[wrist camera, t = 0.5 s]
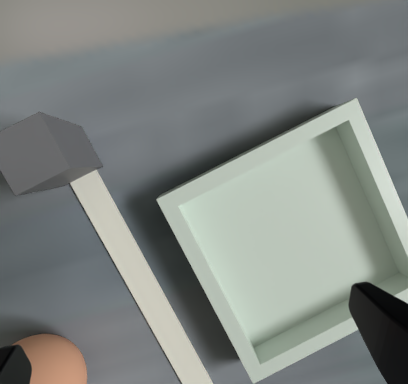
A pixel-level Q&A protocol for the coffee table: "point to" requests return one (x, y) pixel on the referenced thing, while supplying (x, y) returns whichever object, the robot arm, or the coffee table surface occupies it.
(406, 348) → the robot arm
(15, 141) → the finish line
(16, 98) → the coffee table surface
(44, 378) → the ball
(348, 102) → the tray
